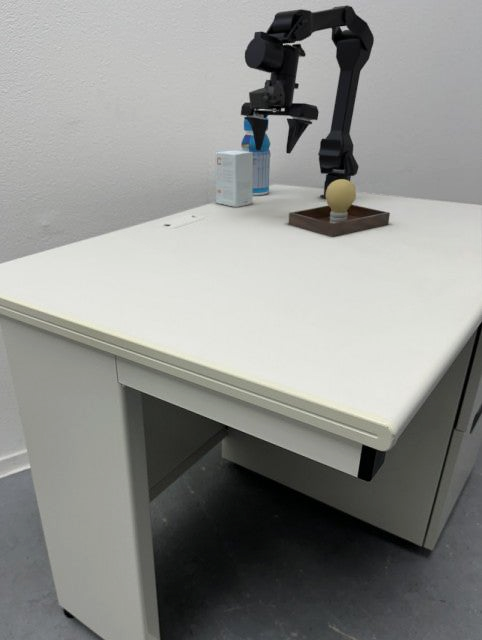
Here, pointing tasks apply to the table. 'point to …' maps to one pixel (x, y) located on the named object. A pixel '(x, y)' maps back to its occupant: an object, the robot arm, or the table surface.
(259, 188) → the beverage bottle
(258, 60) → the robot arm
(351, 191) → the light bulb
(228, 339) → the table surface
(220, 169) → the small box
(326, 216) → the walnut tray
